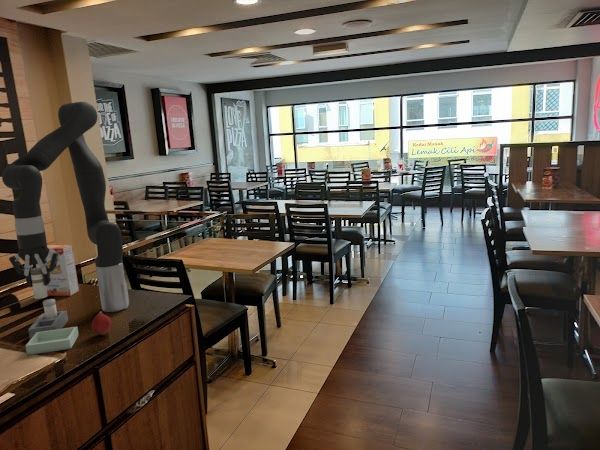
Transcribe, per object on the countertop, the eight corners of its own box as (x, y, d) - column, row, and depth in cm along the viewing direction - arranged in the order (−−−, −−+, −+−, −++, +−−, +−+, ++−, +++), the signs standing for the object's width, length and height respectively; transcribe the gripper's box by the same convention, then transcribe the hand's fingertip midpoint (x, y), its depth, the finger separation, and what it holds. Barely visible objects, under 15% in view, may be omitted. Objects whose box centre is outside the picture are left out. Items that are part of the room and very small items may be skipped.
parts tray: (78, 335, 143) (77, 326, 143) (70, 348, 134) (69, 339, 133) (38, 340, 140) (36, 332, 140) (27, 355, 131) (25, 345, 130)
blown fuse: (49, 294, 139) (45, 266, 137) (45, 298, 136) (41, 270, 134) (36, 295, 138) (32, 268, 137) (32, 299, 135) (27, 271, 133)
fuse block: (68, 319, 157) (66, 310, 156) (57, 335, 143) (55, 325, 143) (43, 323, 155) (41, 313, 154) (29, 339, 142) (28, 329, 141)
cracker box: (40, 296, 184) (32, 248, 180) (50, 291, 190) (42, 244, 186) (70, 296, 182) (62, 247, 178) (79, 291, 188) (72, 244, 184)
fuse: (60, 322, 155) (56, 298, 153) (57, 326, 151) (53, 301, 150) (48, 323, 154) (44, 299, 152) (45, 328, 150) (41, 303, 149)
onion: (93, 340, 138) (90, 316, 137) (93, 334, 143) (89, 311, 142) (113, 336, 141) (110, 312, 139) (112, 329, 146) (108, 307, 144)
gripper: (59, 227, 138) (67, 279, 141) (10, 231, 135) (19, 284, 138) (52, 231, 131) (60, 286, 134) (-1, 235, 128) (8, 292, 131)
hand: (39, 285), depth 136 cm, fingers closed on blown fuse, 3 cm apart
